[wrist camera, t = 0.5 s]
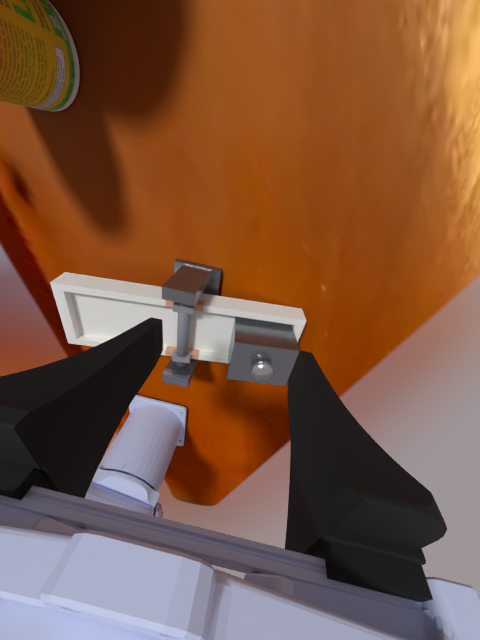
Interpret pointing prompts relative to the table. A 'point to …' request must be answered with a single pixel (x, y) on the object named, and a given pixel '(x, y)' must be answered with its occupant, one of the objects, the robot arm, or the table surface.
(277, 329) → the block
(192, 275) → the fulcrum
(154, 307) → the beam
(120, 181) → the table surface
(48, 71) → the supplement bottle
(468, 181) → the table surface
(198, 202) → the table surface
